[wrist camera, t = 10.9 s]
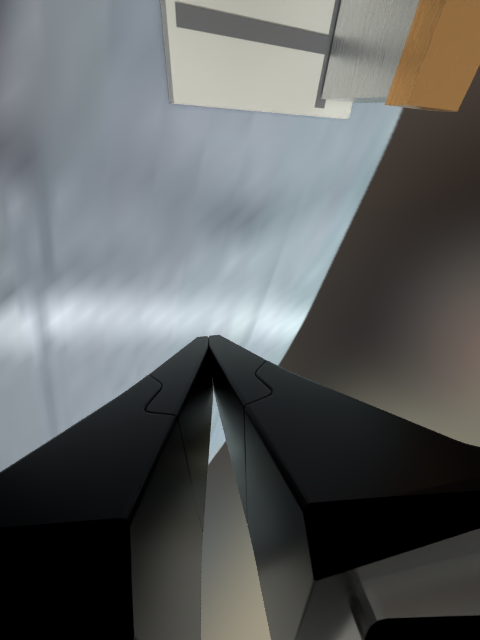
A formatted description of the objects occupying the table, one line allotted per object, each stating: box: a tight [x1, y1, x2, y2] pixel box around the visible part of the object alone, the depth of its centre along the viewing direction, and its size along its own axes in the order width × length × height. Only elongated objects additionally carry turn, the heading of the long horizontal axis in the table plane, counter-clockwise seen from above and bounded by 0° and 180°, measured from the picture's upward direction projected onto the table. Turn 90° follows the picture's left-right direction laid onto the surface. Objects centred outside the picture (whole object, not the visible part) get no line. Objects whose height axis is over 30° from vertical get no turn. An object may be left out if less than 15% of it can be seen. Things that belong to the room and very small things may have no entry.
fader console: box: [160, 0, 353, 119], centre depth 13 cm, size 12×6×2 cm, turn 86°
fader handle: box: [321, 0, 480, 111], centre depth 11 cm, size 3×5×7 cm, turn 176°
